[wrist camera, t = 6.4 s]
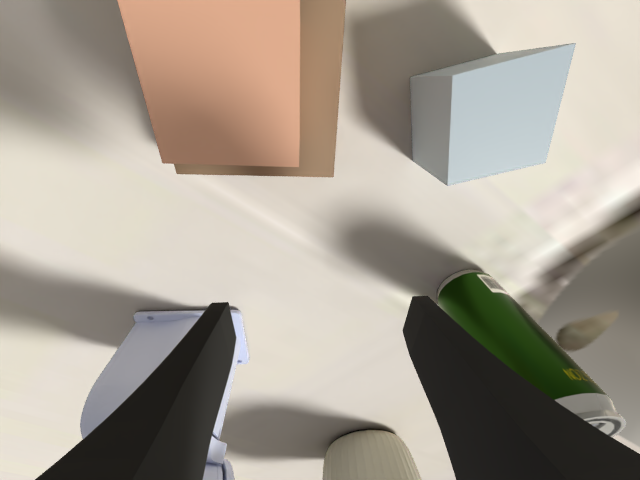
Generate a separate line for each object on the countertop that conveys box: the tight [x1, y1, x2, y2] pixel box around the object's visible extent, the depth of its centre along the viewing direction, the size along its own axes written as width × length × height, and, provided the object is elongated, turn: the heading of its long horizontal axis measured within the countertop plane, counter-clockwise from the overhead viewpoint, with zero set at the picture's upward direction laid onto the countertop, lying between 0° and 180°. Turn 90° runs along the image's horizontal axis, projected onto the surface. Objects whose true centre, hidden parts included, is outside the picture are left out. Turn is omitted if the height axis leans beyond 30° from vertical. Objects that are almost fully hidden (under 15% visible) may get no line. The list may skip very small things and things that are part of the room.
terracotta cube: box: [117, 0, 300, 167], centre depth 10 cm, size 5×5×5 cm
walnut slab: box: [174, 0, 346, 177], centre depth 13 cm, size 9×9×2 cm
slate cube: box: [410, 43, 576, 186], centre depth 14 cm, size 5×5×5 cm
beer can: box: [437, 270, 626, 437], centre depth 19 cm, size 5×5×12 cm
